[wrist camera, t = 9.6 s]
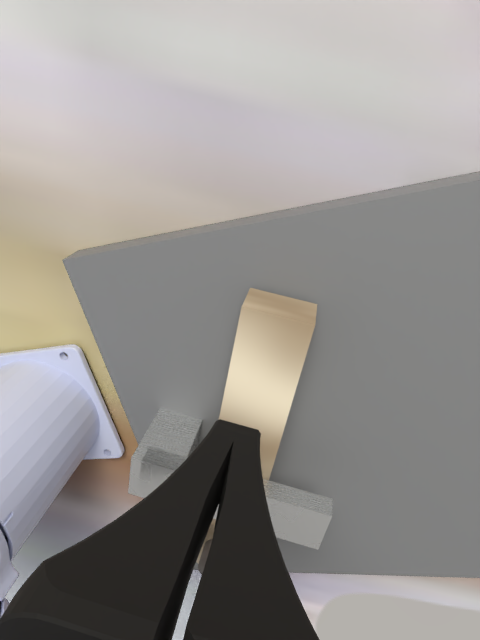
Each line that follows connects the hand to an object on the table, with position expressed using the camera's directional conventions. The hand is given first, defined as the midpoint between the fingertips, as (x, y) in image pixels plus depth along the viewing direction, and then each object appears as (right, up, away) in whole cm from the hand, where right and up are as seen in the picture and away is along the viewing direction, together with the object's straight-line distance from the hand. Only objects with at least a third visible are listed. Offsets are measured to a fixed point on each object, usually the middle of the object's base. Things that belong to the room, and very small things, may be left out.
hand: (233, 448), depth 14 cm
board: (+5, -1, +10) cm, 11 cm away
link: (+1, -2, +10) cm, 10 cm away
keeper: (0, -3, +10) cm, 11 cm away
